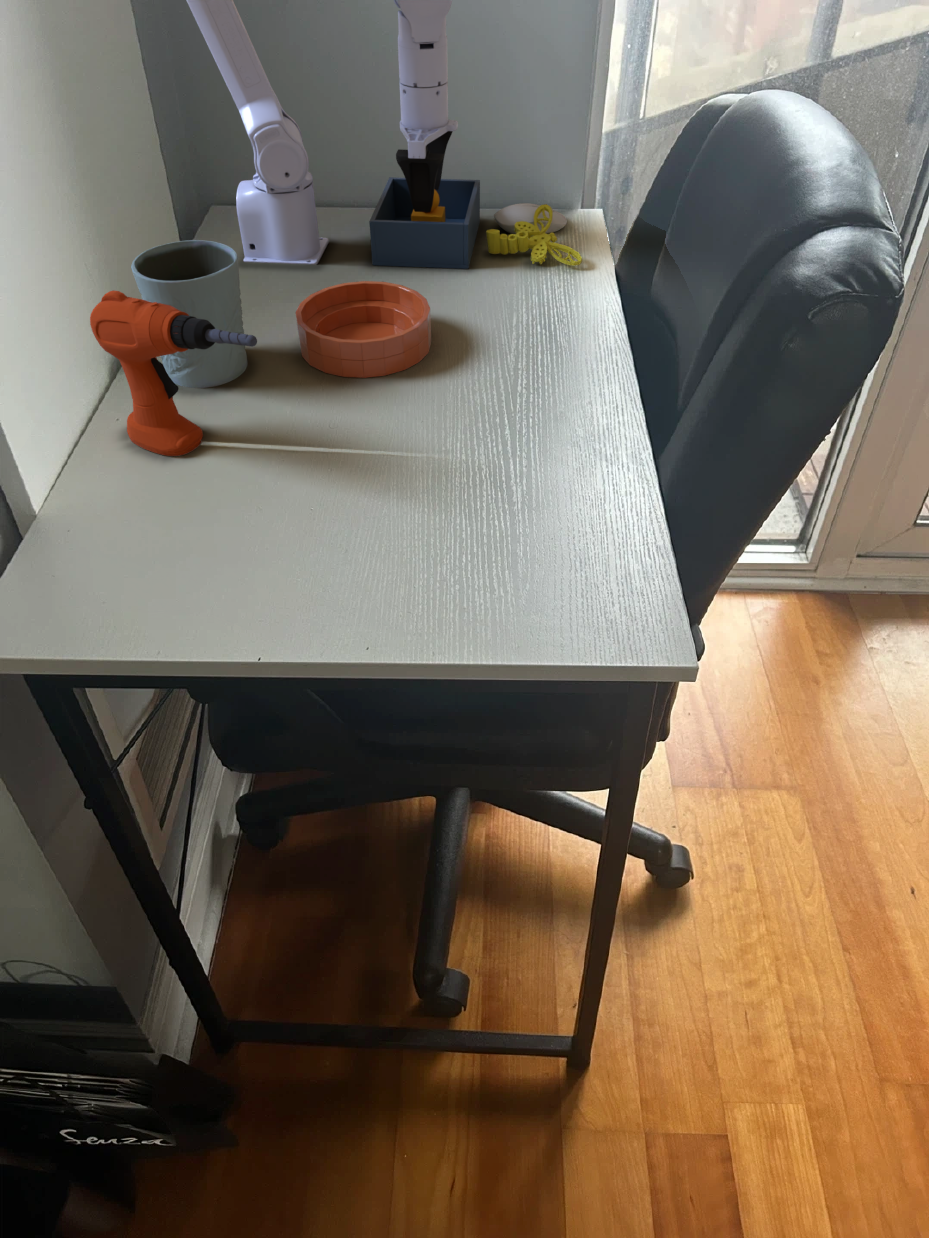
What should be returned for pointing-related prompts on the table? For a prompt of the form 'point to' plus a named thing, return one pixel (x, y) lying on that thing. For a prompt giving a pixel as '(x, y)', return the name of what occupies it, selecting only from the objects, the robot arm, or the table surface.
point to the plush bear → (435, 214)
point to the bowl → (364, 329)
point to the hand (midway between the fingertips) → (426, 199)
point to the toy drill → (155, 364)
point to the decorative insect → (532, 240)
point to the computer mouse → (527, 217)
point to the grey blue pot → (197, 304)
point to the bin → (426, 227)
